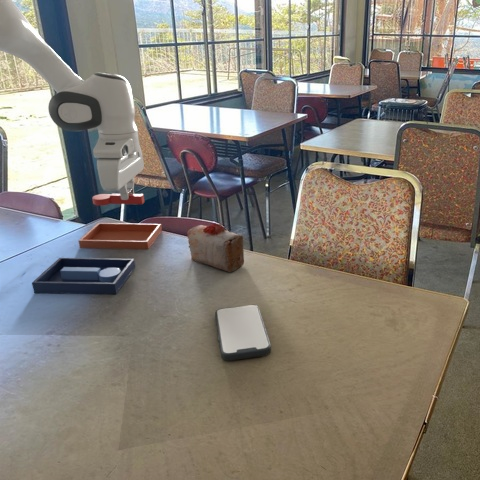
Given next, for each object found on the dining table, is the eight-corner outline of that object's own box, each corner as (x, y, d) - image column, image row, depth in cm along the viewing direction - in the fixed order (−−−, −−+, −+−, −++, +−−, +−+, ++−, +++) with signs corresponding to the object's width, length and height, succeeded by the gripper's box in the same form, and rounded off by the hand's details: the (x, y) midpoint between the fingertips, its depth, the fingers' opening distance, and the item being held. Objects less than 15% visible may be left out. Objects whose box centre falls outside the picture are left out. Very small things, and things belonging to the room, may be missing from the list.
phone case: (214, 315, 96) (221, 363, 82) (214, 308, 95) (221, 355, 81) (258, 310, 98) (272, 356, 84) (258, 303, 97) (272, 348, 83)
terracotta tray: (80, 249, 122) (78, 240, 121) (99, 231, 133) (98, 222, 132) (148, 250, 122) (147, 241, 121) (162, 232, 133) (161, 223, 132)
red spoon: (146, 200, 125) (145, 192, 124) (140, 206, 121) (139, 198, 120) (97, 199, 125) (96, 191, 124) (90, 205, 121) (88, 197, 120)
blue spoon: (58, 282, 105) (56, 273, 104) (68, 272, 109) (67, 264, 108) (117, 283, 105) (115, 274, 104) (124, 273, 109) (123, 265, 108)
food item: (184, 261, 117) (181, 223, 113) (207, 250, 123) (204, 214, 119) (227, 275, 111) (225, 236, 107) (249, 263, 117) (248, 225, 113)
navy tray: (34, 293, 101) (31, 282, 100) (61, 267, 113) (59, 257, 112) (116, 294, 102) (114, 284, 101) (135, 268, 113) (134, 258, 112)
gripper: (122, 134, 126) (129, 184, 132) (89, 152, 108) (99, 210, 113) (146, 134, 126) (152, 185, 132) (117, 153, 108) (126, 210, 113)
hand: (127, 197), depth 122 cm, fingers closed on red spoon, 2 cm apart
